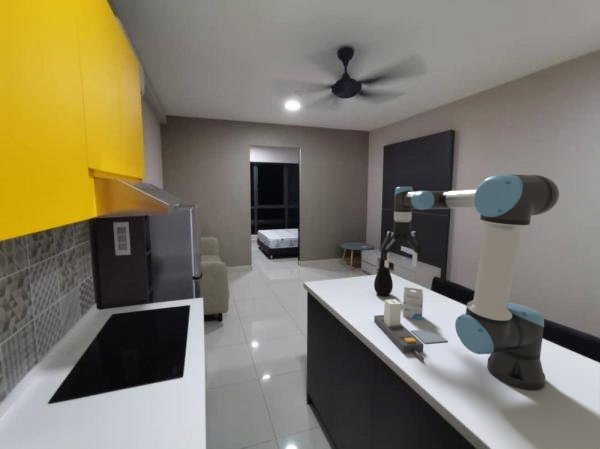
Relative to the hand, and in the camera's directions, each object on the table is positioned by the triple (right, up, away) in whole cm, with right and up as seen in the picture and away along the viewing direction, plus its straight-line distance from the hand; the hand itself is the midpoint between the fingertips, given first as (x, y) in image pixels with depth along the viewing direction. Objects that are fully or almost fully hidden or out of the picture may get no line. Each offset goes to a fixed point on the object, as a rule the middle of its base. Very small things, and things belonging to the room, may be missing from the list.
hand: (400, 266), depth 130 cm
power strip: (-6, -27, -15) cm, 32 cm away
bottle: (+2, -22, +36) cm, 42 cm away
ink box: (+8, -25, +6) cm, 27 cm away
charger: (-7, -24, -8) cm, 26 cm away
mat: (+7, -27, -13) cm, 31 cm away
